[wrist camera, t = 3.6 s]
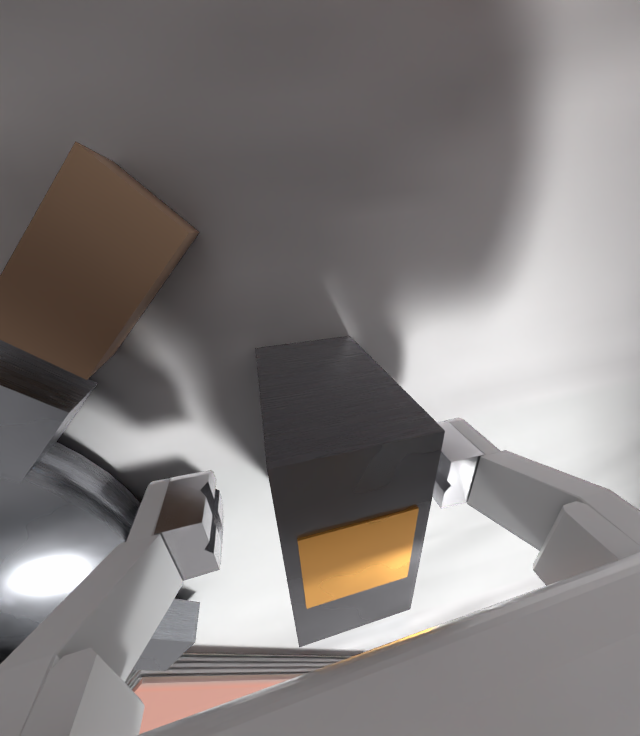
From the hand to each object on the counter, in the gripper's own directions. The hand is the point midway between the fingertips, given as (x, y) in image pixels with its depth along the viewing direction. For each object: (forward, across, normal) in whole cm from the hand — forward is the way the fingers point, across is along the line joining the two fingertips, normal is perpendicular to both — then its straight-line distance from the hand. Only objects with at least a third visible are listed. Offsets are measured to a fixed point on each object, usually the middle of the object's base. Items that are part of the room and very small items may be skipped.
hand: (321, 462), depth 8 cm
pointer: (+2, +4, -6) cm, 7 cm away
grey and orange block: (+2, 0, 0) cm, 2 cm away
